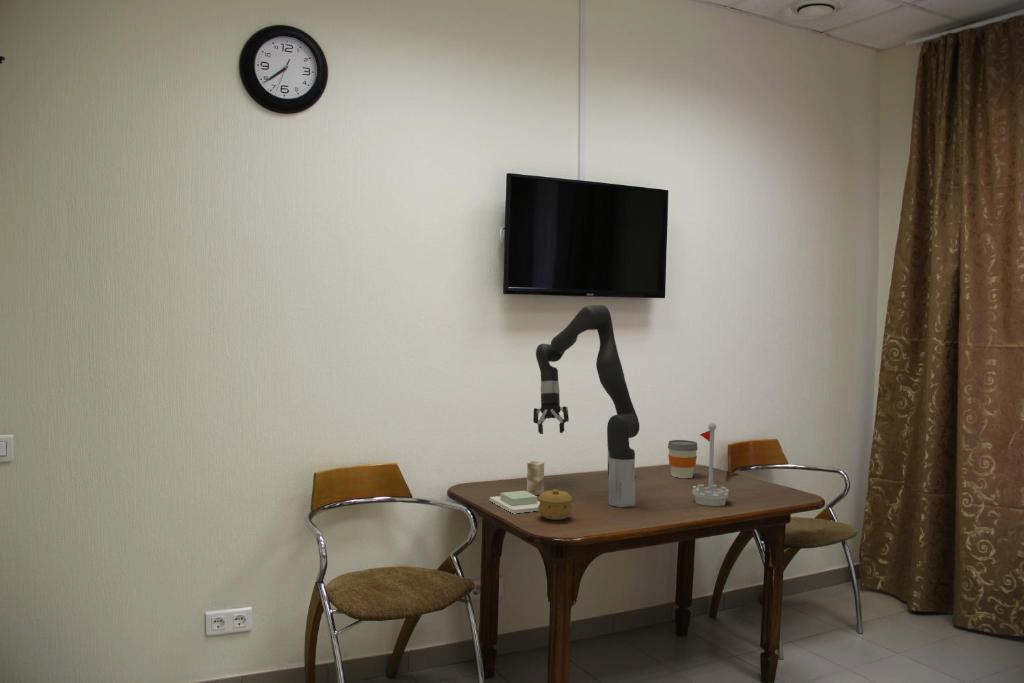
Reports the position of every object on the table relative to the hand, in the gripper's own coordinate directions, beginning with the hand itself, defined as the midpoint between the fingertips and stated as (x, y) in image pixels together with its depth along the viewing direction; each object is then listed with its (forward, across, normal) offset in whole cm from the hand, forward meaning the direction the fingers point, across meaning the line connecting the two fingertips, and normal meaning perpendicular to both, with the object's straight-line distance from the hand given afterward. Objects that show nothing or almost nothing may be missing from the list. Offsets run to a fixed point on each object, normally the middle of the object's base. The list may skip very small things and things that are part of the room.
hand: (551, 433), depth 307 cm
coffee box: (+18, +17, +35) cm, 43 cm away
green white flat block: (+27, -3, -29) cm, 40 cm away
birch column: (+23, -4, -9) cm, 25 cm away
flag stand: (+28, +59, +9) cm, 66 cm away
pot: (+31, +14, -38) cm, 52 cm away
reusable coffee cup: (+18, +41, +50) cm, 67 cm away
